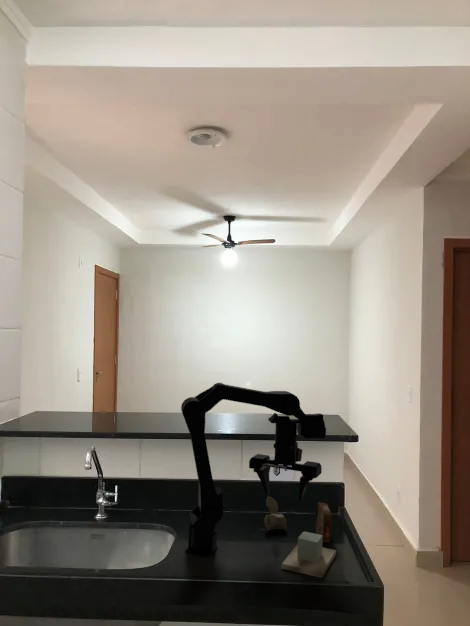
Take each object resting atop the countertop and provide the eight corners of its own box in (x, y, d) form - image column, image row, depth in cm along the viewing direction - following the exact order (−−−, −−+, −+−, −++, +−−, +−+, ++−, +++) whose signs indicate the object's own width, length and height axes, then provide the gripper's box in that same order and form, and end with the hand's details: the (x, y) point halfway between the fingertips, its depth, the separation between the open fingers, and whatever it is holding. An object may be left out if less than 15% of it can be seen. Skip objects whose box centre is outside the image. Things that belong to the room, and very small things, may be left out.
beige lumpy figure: (284, 531, 149) (269, 496, 152) (265, 539, 151) (250, 505, 154) (294, 523, 157) (279, 490, 160) (276, 531, 159) (262, 498, 162)
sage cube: (297, 558, 133) (297, 538, 133) (303, 550, 138) (303, 531, 138) (316, 562, 131) (317, 542, 131) (322, 554, 136) (322, 535, 136)
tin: (314, 526, 158) (315, 497, 158) (325, 526, 158) (326, 498, 158) (320, 548, 143) (321, 516, 143) (332, 548, 143) (333, 516, 143)
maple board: (281, 568, 130) (281, 563, 130) (298, 546, 143) (298, 542, 143) (321, 577, 126) (322, 572, 126) (335, 554, 139) (336, 550, 139)
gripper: (327, 437, 147) (325, 494, 147) (264, 429, 154) (262, 484, 154) (316, 446, 137) (314, 507, 136) (249, 437, 144) (247, 495, 144)
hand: (283, 497), depth 143 cm, fingers open, 9 cm apart
